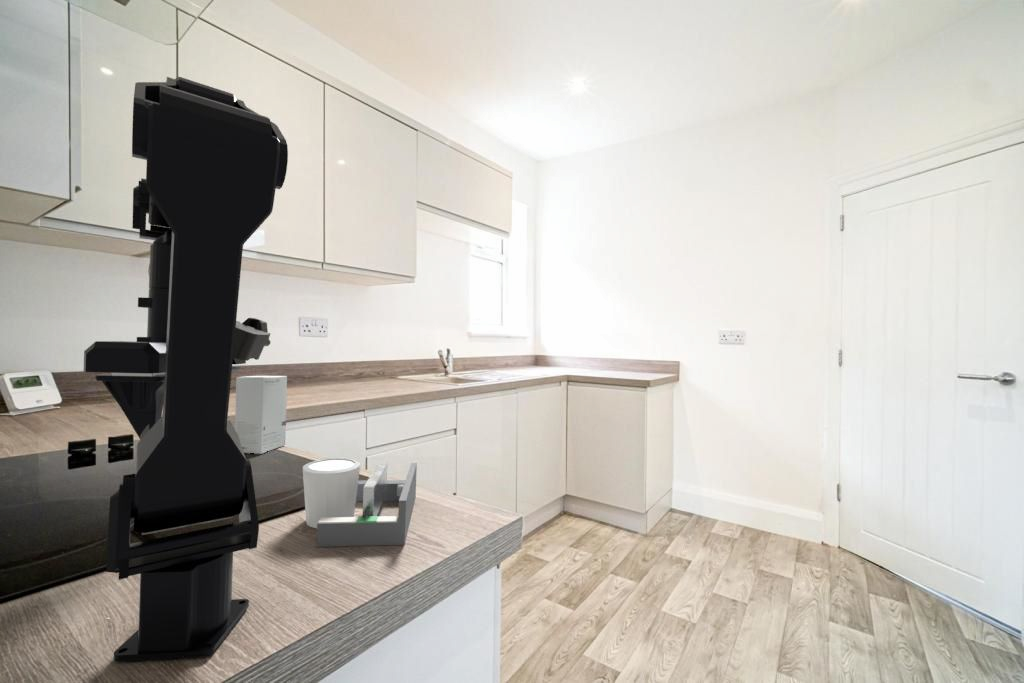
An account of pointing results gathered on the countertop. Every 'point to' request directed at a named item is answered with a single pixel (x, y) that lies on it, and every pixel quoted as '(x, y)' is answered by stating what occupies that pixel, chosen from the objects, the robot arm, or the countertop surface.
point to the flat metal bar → (375, 490)
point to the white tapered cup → (330, 488)
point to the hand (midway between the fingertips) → (177, 433)
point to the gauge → (373, 519)
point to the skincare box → (261, 412)
